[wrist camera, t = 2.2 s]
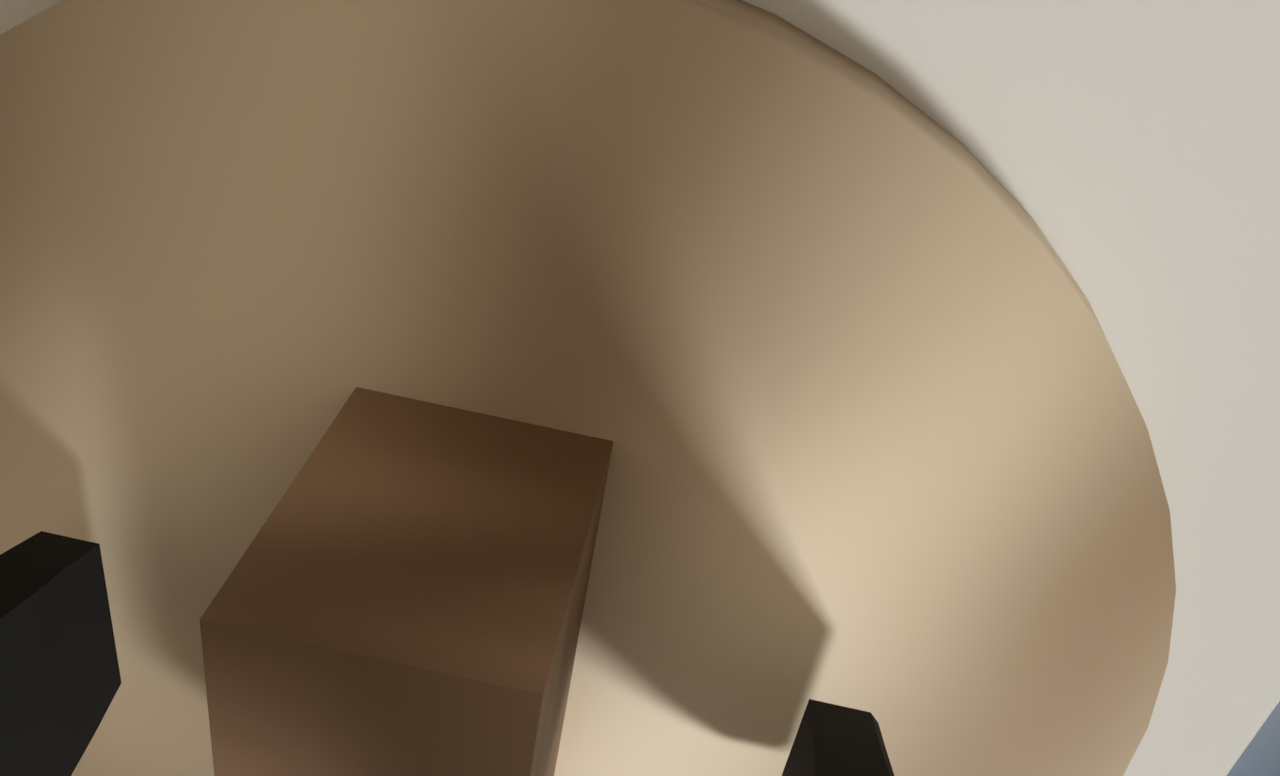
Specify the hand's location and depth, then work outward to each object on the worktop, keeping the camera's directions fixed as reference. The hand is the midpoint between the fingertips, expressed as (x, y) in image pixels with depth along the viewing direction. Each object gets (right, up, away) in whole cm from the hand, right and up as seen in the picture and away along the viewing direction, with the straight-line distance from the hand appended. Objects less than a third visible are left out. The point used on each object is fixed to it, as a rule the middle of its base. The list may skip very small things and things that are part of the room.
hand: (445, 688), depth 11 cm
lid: (0, +1, +1) cm, 1 cm away
